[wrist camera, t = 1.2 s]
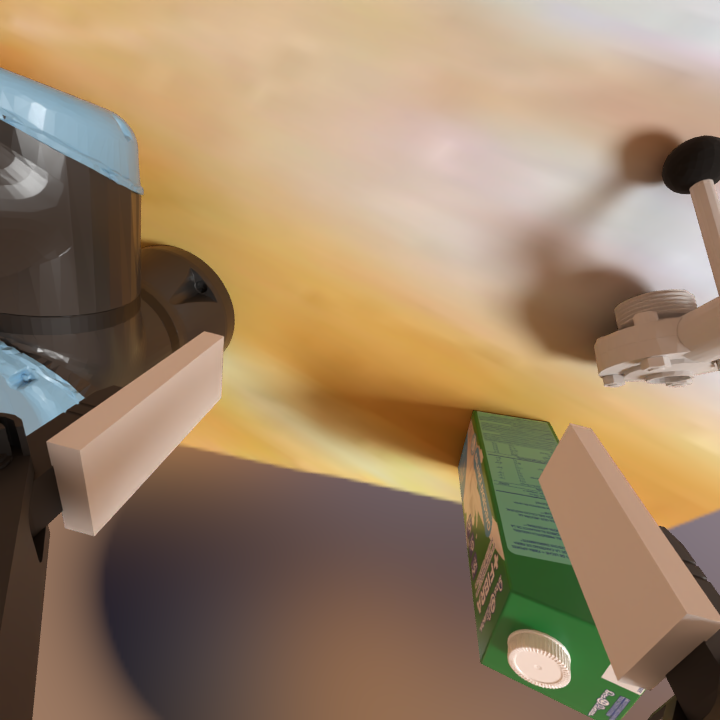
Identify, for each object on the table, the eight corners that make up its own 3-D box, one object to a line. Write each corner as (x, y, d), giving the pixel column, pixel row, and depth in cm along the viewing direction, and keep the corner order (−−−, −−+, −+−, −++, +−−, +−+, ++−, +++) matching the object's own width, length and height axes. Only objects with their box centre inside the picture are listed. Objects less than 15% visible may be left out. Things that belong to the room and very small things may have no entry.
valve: (580, 391, 39) (694, 343, 24) (556, 239, 44) (639, 125, 29) (686, 391, 38) (869, 342, 24) (650, 237, 43) (782, 119, 29)
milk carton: (472, 409, 46) (518, 627, 23) (550, 422, 45) (675, 661, 22) (457, 467, 50) (484, 701, 27) (528, 479, 49) (615, 732, 26)
